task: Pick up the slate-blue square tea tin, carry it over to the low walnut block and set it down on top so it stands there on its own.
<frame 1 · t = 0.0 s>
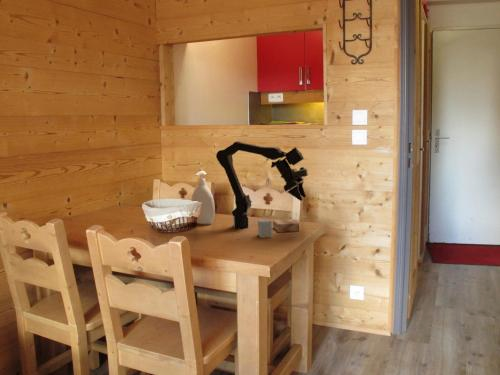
hand: (303, 198, 233), 15 cm above the table, fingers open, 9 cm apart
walnut block: (286, 229, 238), on the table
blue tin: (264, 235, 225), on the table
soap bottle: (202, 223, 254), on the table
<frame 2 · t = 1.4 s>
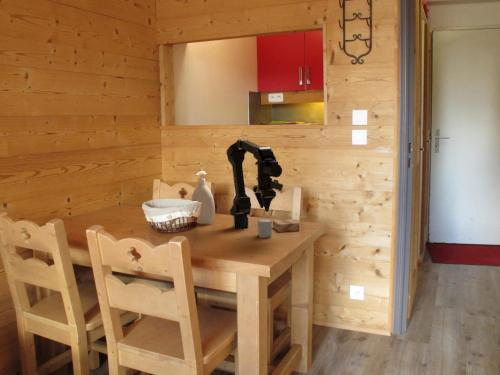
hand: (264, 209, 224), 12 cm above the table, fingers open, 9 cm apart
nothing on the table moved.
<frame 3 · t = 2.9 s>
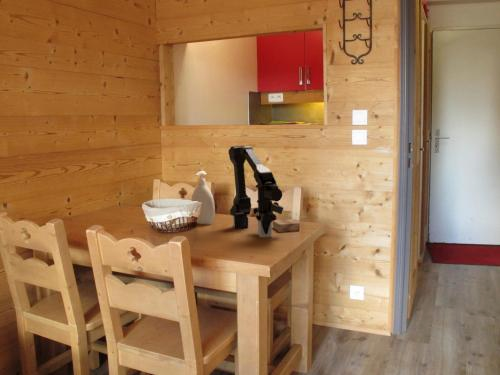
hand: (264, 232, 225), 2 cm above the table, fingers closed on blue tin, 5 cm apart
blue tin: (264, 235, 225), on the table, touching gripper
everything else where it was.
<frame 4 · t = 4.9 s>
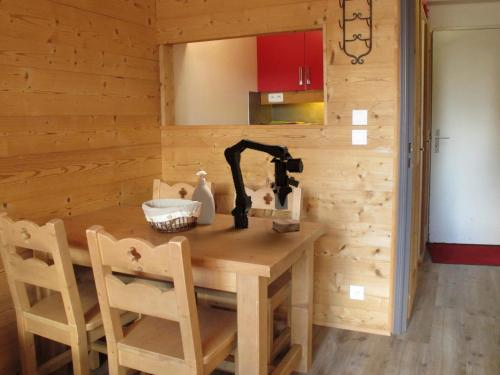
hand: (281, 205, 233), 12 cm above the table, fingers closed on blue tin, 5 cm apart
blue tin: (281, 208, 233), point 11 cm above the table, touching gripper
everything else where it was.
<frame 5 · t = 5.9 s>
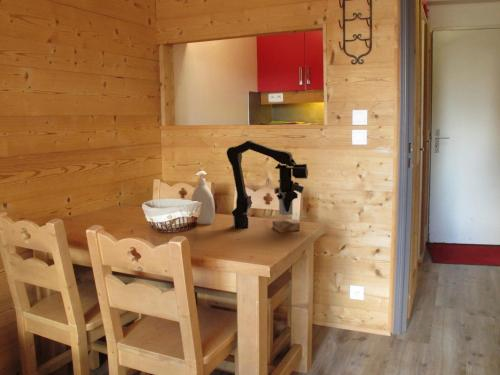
hand: (285, 210, 237), 9 cm above the table, fingers closed on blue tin, 5 cm apart
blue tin: (285, 213, 237), point 7 cm above the table, touching gripper
everything else where it was.
when the fingers open (6 cm above the table, at t = 6.8 s): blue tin drops 1 cm, resting on walnut block.
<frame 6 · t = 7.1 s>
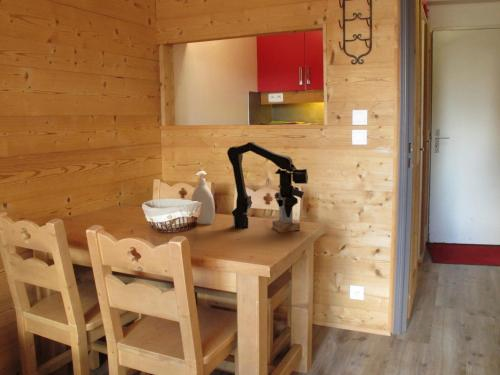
hand: (285, 215, 237), 6 cm above the table, fingers open, 8 cm apart
walnut block: (286, 230, 238), on the table, touching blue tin
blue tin: (285, 221, 237), point 4 cm above the table, touching walnut block
everything else where it was.
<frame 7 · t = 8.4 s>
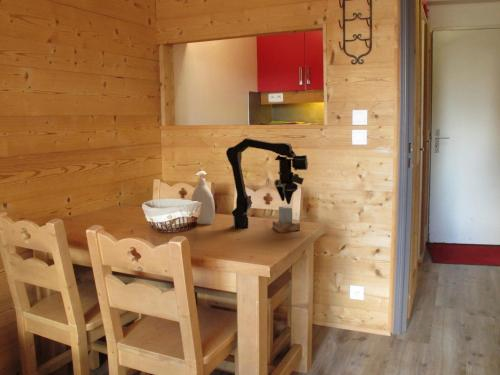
hand: (285, 202, 236), 13 cm above the table, fingers open, 9 cm apart
walnut block: (286, 230, 238), on the table
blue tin: (285, 221, 237), point 4 cm above the table
everything else where it was.
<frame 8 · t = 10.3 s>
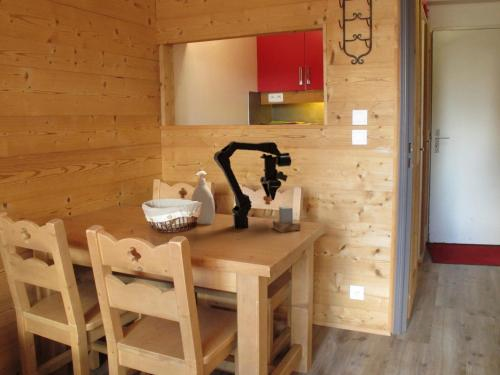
hand: (270, 198, 248), 13 cm above the table, fingers open, 9 cm apart
walnut block: (286, 230, 238), on the table, touching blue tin
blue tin: (285, 222, 237), point 4 cm above the table, touching walnut block
everything else where it was.
at the end: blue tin inside the target area on the walnut block (0.4 cm from its centre), point 4.1 cm above the walnut block's base; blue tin tilted 1°; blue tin touching nothing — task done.
